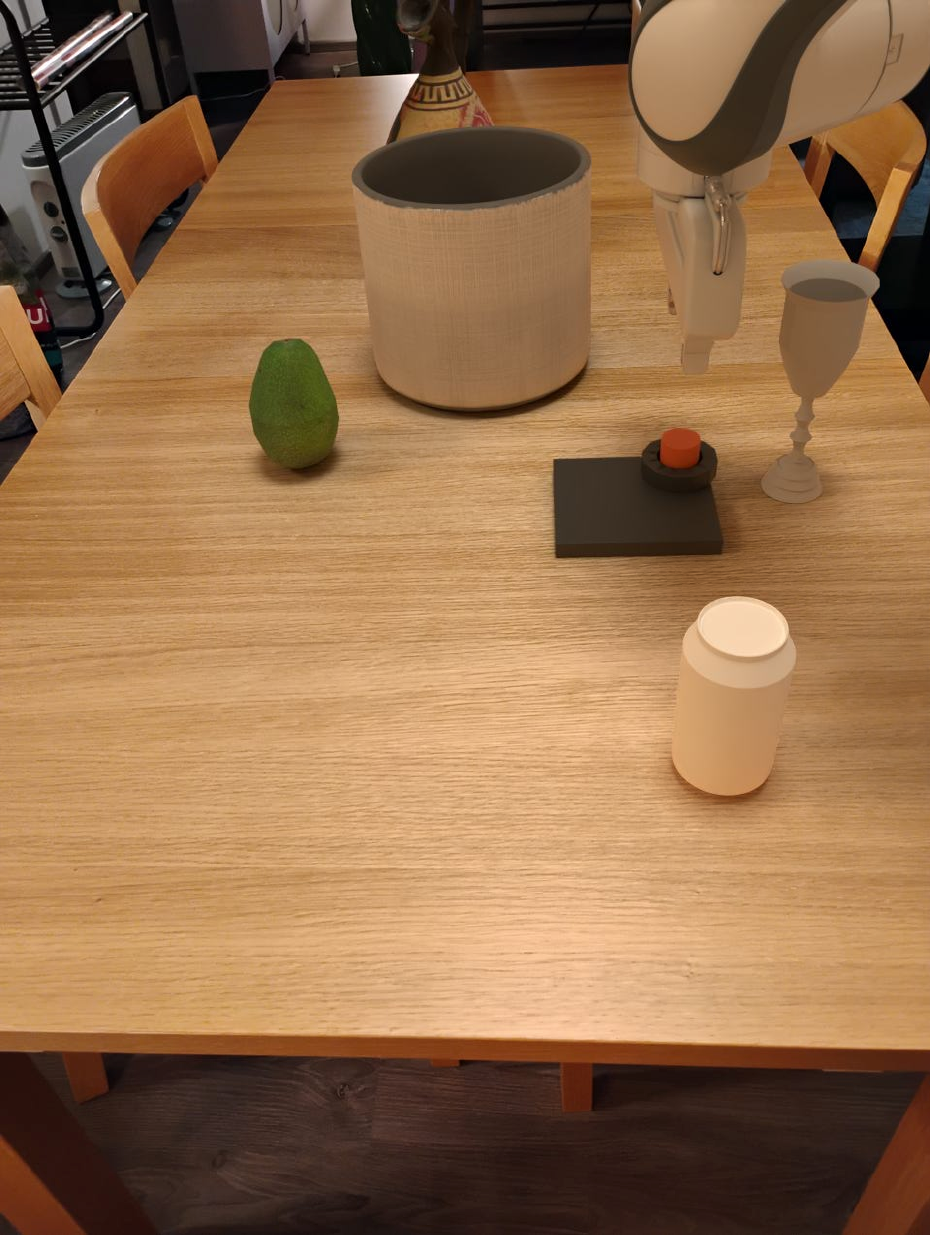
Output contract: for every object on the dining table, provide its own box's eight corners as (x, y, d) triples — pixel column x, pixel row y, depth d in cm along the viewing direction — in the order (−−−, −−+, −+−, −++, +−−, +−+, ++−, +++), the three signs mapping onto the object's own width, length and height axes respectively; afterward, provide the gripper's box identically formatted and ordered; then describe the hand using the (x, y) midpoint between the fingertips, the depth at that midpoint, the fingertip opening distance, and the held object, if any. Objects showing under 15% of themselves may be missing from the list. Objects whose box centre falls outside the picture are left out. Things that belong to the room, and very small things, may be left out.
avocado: (363, 457, 92) (344, 337, 84) (295, 495, 88) (268, 373, 80) (310, 428, 96) (287, 311, 88) (243, 463, 92) (213, 343, 84)
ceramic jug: (470, 280, 119) (450, -12, 98) (365, 259, 125) (327, -18, 105) (538, 228, 129) (533, -46, 109) (438, 212, 135) (416, -49, 115)
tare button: (696, 448, 84) (698, 427, 83) (700, 469, 82) (703, 448, 81) (658, 449, 85) (659, 428, 83) (661, 470, 82) (663, 449, 81)
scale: (708, 464, 87) (711, 434, 85) (729, 554, 78) (733, 523, 76) (553, 468, 88) (553, 439, 86) (555, 557, 79) (555, 527, 77)
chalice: (747, 460, 87) (776, 259, 75) (827, 462, 86) (871, 258, 74) (753, 510, 82) (786, 302, 70) (839, 512, 81) (887, 302, 69)
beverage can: (650, 752, 64) (662, 614, 56) (725, 713, 66) (748, 574, 58) (713, 820, 60) (736, 681, 52) (792, 776, 62) (826, 635, 54)
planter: (633, 351, 103) (643, 147, 89) (493, 446, 92) (480, 228, 78) (474, 299, 115) (462, 111, 101) (333, 377, 103) (298, 177, 90)
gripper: (782, 204, 58) (750, 409, 68) (729, 100, 73) (709, 280, 83) (673, 208, 59) (657, 412, 68) (643, 104, 74) (633, 283, 83)
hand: (685, 339), depth 76 cm, fingers open, 8 cm apart
